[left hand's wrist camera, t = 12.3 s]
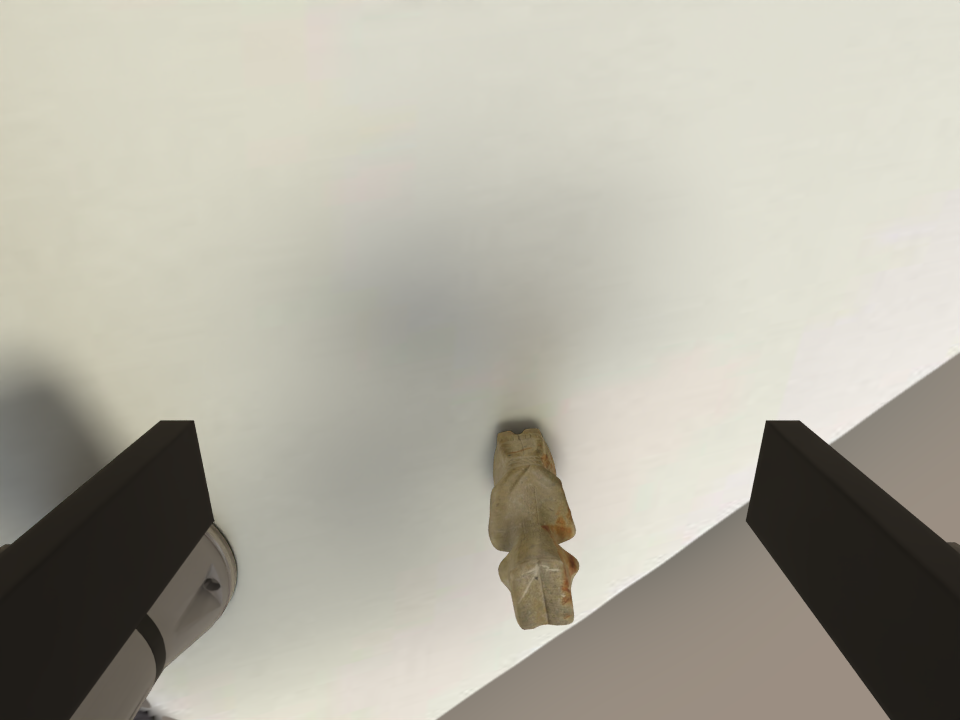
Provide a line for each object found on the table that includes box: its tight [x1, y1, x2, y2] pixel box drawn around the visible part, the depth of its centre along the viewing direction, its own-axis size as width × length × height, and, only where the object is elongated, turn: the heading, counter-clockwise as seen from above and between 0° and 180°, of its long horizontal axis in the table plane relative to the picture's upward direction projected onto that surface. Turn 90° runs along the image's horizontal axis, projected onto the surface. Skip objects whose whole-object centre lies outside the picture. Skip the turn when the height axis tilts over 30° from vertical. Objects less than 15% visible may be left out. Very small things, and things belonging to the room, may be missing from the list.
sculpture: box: [488, 428, 579, 630], centre depth 38 cm, size 6×7×15 cm
